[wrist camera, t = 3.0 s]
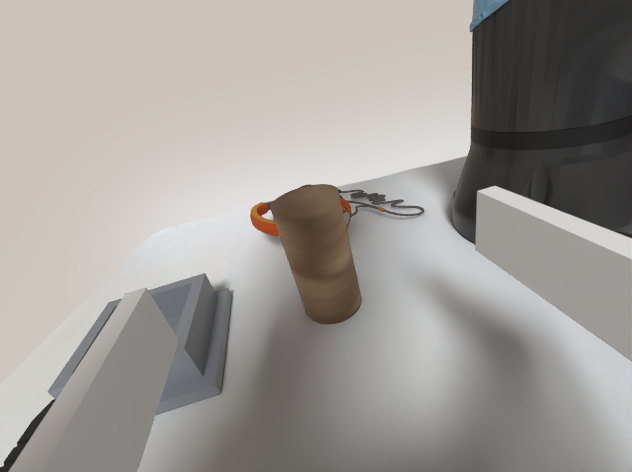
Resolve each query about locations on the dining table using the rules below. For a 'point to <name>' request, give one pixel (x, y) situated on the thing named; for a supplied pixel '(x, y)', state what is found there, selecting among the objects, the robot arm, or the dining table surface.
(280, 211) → the walnut cylinder
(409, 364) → the dining table surface
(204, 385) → the grey square tray
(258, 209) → the headphones
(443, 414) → the dining table surface
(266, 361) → the dining table surface
